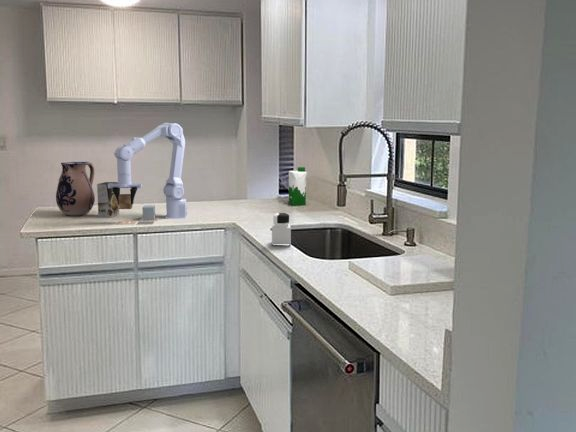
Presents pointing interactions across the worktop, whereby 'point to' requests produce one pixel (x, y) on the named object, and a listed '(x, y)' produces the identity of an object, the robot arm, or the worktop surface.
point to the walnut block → (125, 201)
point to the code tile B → (149, 220)
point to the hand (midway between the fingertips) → (125, 204)
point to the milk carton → (297, 187)
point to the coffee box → (107, 201)
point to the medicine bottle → (281, 229)
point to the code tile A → (126, 222)
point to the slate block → (148, 212)
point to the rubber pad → (144, 222)
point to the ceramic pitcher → (75, 189)
